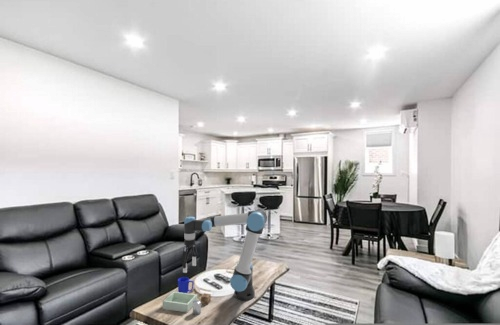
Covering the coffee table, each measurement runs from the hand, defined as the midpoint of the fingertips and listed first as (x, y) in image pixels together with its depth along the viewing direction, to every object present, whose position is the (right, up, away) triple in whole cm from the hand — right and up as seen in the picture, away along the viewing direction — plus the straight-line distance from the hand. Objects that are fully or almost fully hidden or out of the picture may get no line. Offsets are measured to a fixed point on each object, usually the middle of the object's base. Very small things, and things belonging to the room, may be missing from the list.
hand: (189, 269), depth 186 cm
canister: (+9, -20, -19) cm, 29 cm away
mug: (-5, -21, +8) cm, 23 cm away
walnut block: (+12, -21, -6) cm, 25 cm away
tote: (-4, -20, -10) cm, 23 cm away
